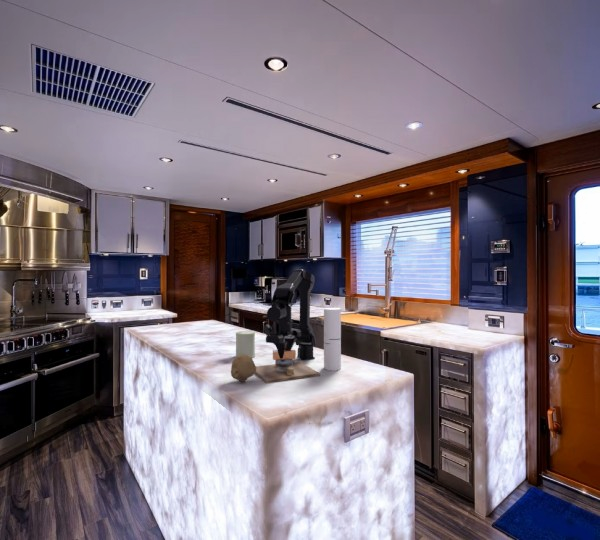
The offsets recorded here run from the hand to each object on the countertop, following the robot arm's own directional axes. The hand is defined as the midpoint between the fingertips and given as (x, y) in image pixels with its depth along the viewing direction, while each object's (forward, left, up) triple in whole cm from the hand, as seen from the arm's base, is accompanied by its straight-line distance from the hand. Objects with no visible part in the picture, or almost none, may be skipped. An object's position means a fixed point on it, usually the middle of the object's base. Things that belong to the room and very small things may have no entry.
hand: (284, 357), depth 143 cm
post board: (0, 0, -6) cm, 6 cm away
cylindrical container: (-21, +2, -6) cm, 22 cm away
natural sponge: (+18, +5, -6) cm, 20 cm away
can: (+7, -33, -6) cm, 34 cm away
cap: (0, 0, -3) cm, 3 cm away
